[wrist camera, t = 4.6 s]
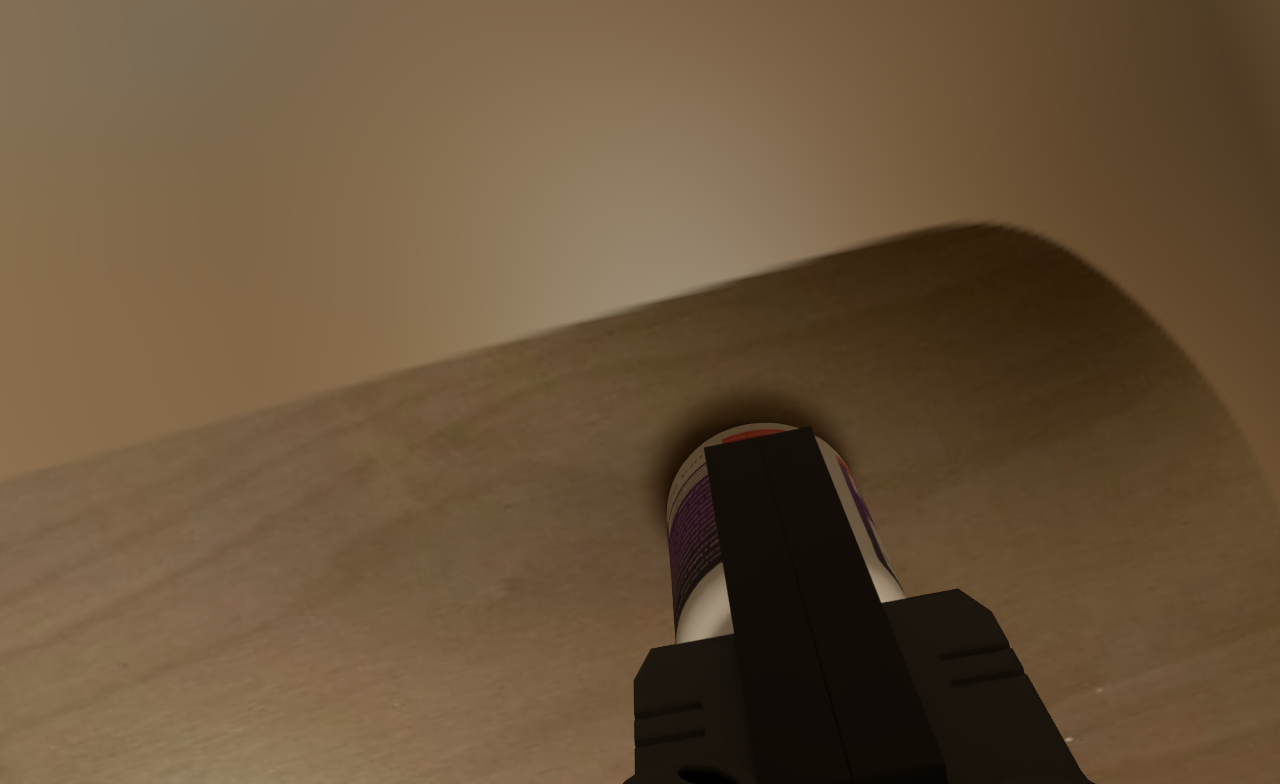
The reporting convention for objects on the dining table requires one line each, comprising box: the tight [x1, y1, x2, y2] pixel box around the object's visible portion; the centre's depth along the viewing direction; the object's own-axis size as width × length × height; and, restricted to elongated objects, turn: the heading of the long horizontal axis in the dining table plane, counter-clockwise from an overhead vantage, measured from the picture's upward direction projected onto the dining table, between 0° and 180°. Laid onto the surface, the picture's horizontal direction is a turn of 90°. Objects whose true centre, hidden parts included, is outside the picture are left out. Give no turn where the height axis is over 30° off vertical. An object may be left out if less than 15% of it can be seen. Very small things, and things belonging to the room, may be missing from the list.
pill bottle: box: [667, 423, 906, 644], centre depth 26 cm, size 5×5×10 cm
